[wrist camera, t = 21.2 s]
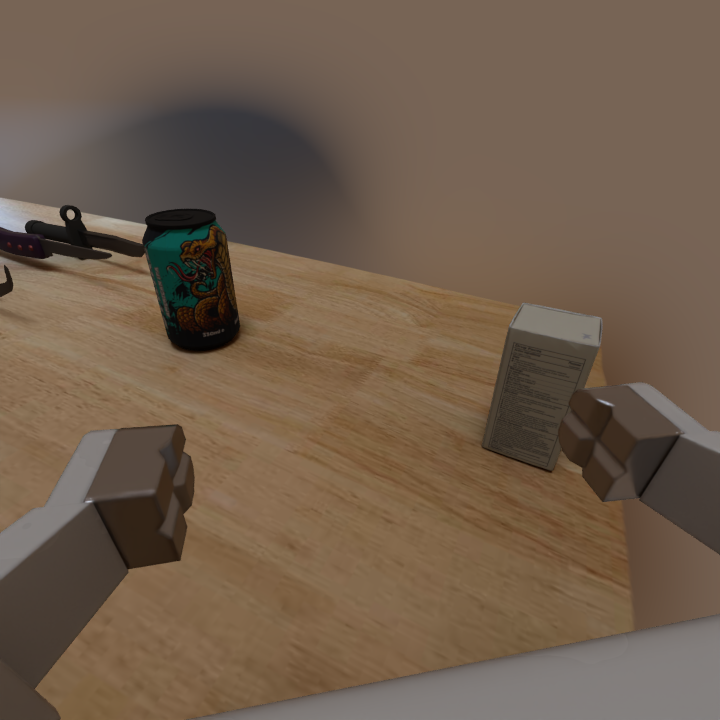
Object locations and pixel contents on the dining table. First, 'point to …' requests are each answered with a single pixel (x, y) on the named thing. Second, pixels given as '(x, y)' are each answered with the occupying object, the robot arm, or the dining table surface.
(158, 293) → the beverage can
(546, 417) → the white carton box
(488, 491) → the dining table surface
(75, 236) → the knife set
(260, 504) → the dining table surface
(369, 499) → the dining table surface
